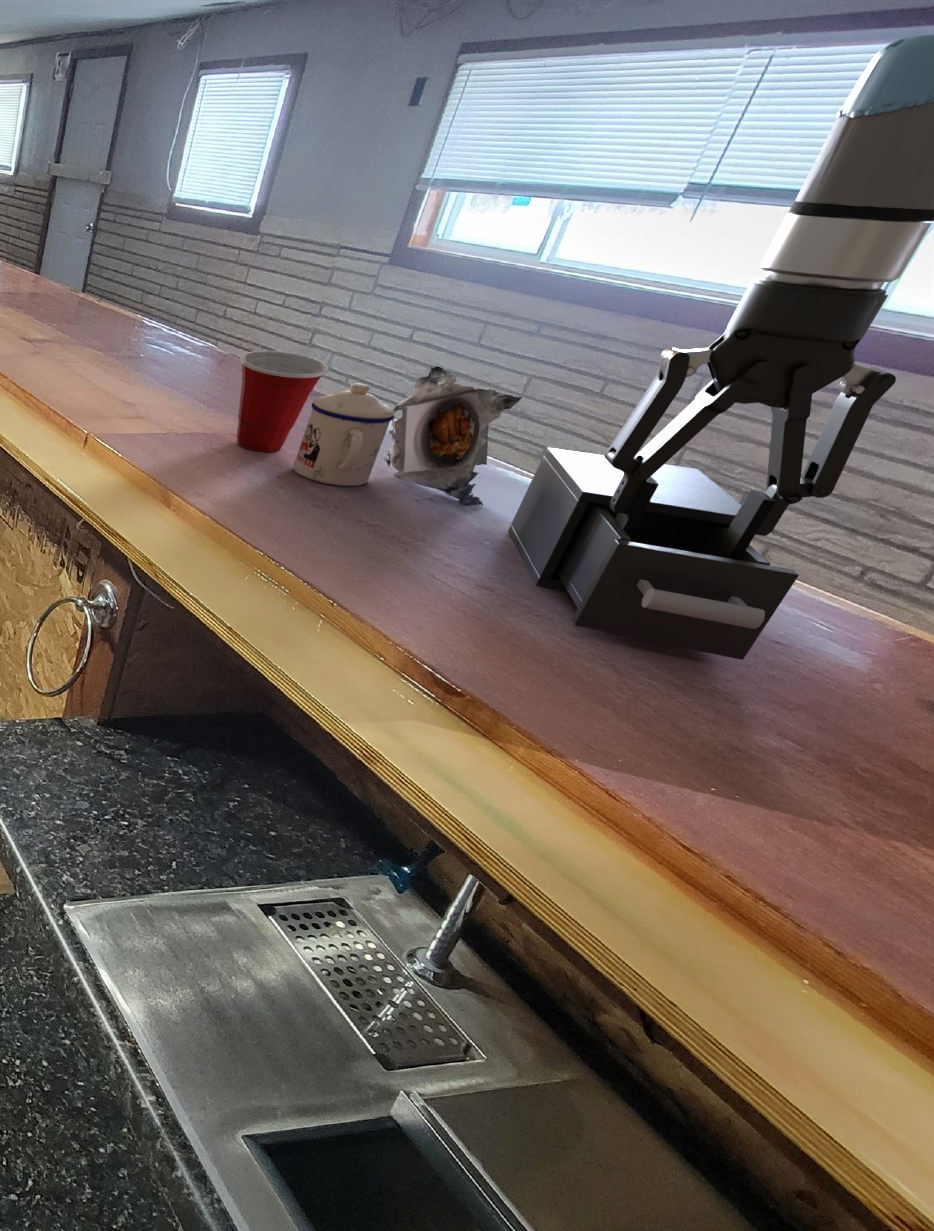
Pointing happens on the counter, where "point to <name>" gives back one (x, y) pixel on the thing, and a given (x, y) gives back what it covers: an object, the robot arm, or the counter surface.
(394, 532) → the counter surface
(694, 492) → the small drawer cabinet
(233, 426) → the counter surface
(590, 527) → the open drawer unit
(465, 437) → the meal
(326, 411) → the teacup with lid
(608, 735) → the counter surface
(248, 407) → the plastic cup
